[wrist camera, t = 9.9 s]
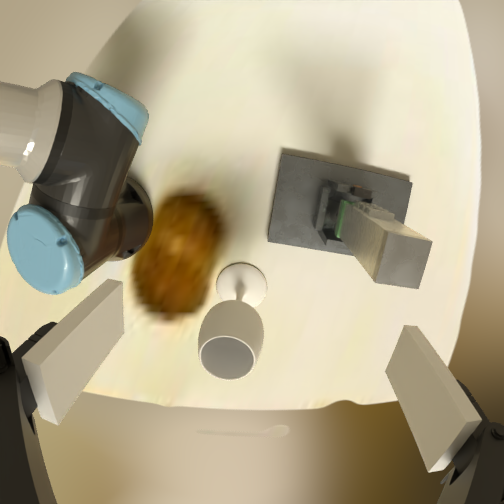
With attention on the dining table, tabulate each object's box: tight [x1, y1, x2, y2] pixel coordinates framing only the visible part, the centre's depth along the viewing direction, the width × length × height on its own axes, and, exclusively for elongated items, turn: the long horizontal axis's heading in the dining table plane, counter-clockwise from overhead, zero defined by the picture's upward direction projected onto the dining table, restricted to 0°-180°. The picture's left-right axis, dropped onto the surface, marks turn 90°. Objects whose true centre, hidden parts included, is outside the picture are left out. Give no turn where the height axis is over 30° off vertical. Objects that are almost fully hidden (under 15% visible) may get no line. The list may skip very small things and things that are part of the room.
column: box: [334, 200, 432, 289], centre depth 34 cm, size 5×5×19 cm
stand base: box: [268, 154, 412, 256], centre depth 46 cm, size 22×14×10 cm, turn 81°
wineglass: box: [198, 264, 267, 380], centre depth 45 cm, size 9×9×21 cm
